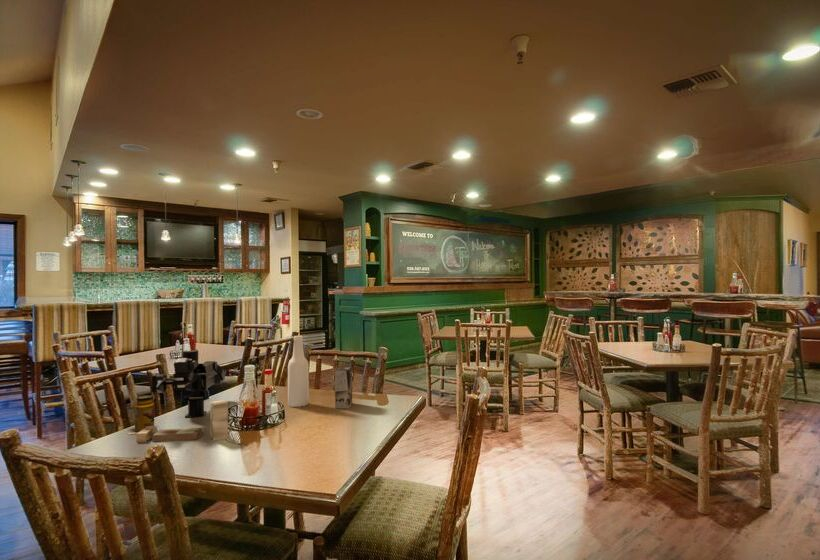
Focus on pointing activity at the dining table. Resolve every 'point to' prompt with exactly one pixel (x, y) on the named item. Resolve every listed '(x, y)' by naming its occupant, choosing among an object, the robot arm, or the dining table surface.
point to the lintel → (145, 434)
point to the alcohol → (298, 376)
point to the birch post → (219, 420)
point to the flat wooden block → (177, 434)
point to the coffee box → (343, 387)
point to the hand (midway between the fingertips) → (171, 387)
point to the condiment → (143, 414)
